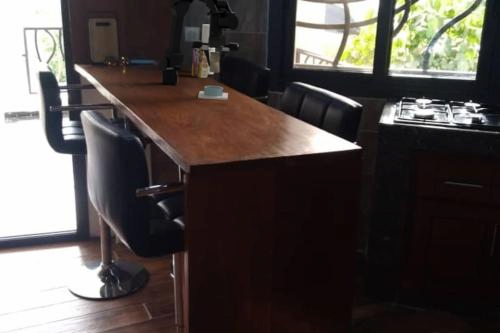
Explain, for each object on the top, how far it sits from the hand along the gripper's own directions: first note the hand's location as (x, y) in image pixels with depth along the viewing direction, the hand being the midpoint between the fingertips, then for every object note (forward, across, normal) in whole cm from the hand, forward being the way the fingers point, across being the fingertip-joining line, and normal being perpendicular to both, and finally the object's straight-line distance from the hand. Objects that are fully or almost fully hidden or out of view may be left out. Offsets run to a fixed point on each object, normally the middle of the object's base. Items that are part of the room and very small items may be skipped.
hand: (214, 67), depth 228 cm
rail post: (+2, 0, 0) cm, 2 cm away
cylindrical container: (+12, -6, +66) cm, 67 cm away
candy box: (+12, -9, +52) cm, 54 cm away
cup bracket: (+12, 0, 0) cm, 12 cm away
